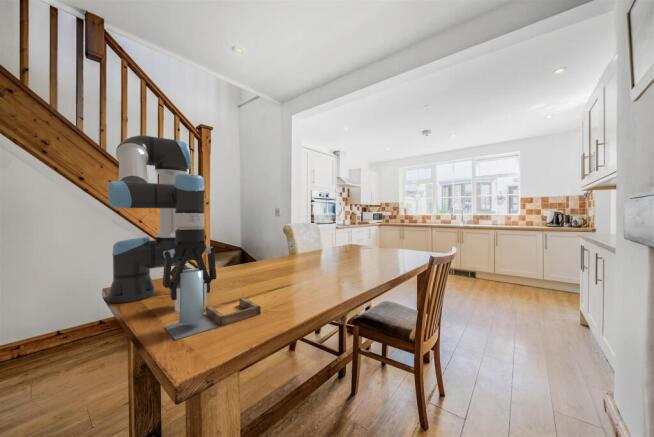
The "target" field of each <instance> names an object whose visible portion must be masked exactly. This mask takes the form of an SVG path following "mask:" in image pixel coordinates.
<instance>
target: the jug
mask: <svg viewBox="0 0 654 437" xmlns="http://www.w3.org/2000/svg"><path fill="white" fill-rule="evenodd" d="M203 282H204V280H203V270H201V269H199V268H193V269H186V270H183V271H182V273H181V277H180V280H179V283H178V287H179V288H180V312H178V323H179V322H180V323H193V322H197V321H199V320H201V319H203V317H204V316H205V314H204V311H205V310H204V308H205V306H204V304H203Z"/></svg>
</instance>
